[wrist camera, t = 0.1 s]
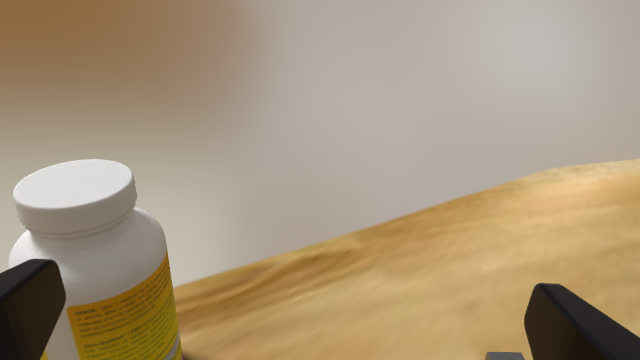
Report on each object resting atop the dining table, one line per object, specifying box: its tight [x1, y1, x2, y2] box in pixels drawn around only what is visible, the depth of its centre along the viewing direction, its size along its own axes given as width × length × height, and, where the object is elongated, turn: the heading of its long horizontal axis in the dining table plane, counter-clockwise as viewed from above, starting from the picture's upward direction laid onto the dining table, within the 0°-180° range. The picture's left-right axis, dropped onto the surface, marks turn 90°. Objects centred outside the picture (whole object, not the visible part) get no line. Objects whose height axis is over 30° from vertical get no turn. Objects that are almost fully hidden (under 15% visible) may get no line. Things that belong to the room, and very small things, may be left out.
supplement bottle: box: [8, 159, 183, 360], centre depth 23 cm, size 7×7×13 cm
